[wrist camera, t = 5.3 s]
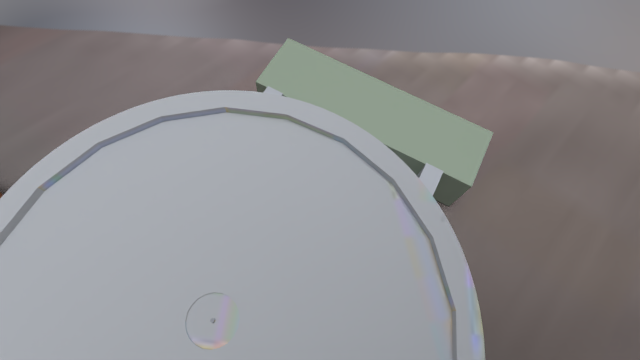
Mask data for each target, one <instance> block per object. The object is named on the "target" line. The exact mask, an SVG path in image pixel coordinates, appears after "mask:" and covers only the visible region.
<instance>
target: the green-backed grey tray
mask: <svg viewBox="0 0 640 360" xmlns="http://www.w3.org/2000/svg"><path fill="white" fill-rule="evenodd" d="M256 86H257V92H262V93H269V94H275V95H280V96H285V97H289V98H293V99H297V100H300V101H303V102H307V103H310V104H313V105H315V106H318V107H321V108H323V109H326V110H328V111H330V112H333V113H335V114H337V115H339V116H341V117H343V118H345V119H347V120H348V121H350V122H352V123H354V124H356V125H357V126H359V127H360V128H362V129H364V130H365V131H367V132H368V133H370V134H371V135H372V136H374V137H375V138H377V139H378V140H379V141H381V142H382V143H383V144H384V145H386V146H387V147H388V148H389V149H390V150H392V151H393V152H394V153H395V154H396V155H397V156H398V157H399V158H400V159H401V160H402V161H403V162H404V163H405V164H406V165H407V166H408V167H409V168H410V169H411V170H412V171H413V172H414V173H415V174H416V175H417V177H418V178H419V179H420V180H421V181H422V183H423V184H424V185H425V186H426V188H427V189H428V190H429V192H430V193H431V194H432V196H433V197H434V199H435V200H437V201H439V202H441V203H443V204H445V205H447V206H450V205H451V204H452V203H453V202H454V201H456V200H457V199H458V198H459V197H460V196H461V195H463V194H464V193H465V192H466V191H467V190H468V189H469V188H471V187H472V185H473V182H474V180H475V177H476V175H477V172H478V170H479V167H480V165H481V162H482V160H483V157H484V155H485V152H486V150H487V147H488V145H489V142H490V140H491V137H492V135H493V132H491V131H489V130H487V129H484V128H482V127H480V126H478V125H476V124H474V123H471V122H469V121H467V120H465V119H463V118H461V117H458V116H456V115H454V114H452V113H450V112H448V111H445V110H443V109H441V108H439V107H437V106H435V105H432V104H430V103H428V102H426V101H424V100H421V99H419V98H417V97H415V96H413V95H411V94H408V93H406V92H404V91H402V90H400V89H398V88H395V87H393V86H391V85H389V84H387V83H385V82H382V81H380V80H378V79H376V78H374V77H372V76H369V75H367V74H365V73H363V72H361V71H359V70H356V69H354V68H352V67H350V66H348V65H346V64H343V63H341V62H339V61H337V60H335V59H333V58H330V57H328V56H326V55H324V54H322V53H320V52H317V51H315V50H313V49H311V48H309V47H306V46H304V45H302V44H300V43H298V42H296V41H293V40H291V39H289V38H288V39H287V40H286V42H285V43H284V44H283V46H282V47H281V48H280V50H279V51H278V52H277V54H276V55H275V56H274V58H273V59H272V60H271V62H270V63H269V64H268V66H267V67H266V69H265V70H264V71H263V73H262V74H261V75H260V77H259V78H258V79H257V81H256Z"/></svg>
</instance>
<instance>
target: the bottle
mask: <svg viewBox="0 0 640 360" xmlns="http://www.w3.org/2000/svg"><path fill="white" fill-rule="evenodd" d="M0 360H485V346H484V335H483V327H482V320H481V313H480V308H479V303H478V298H477V294H476V290H475V286H474V282H473V279H472V276H471V273H470V270H469V267H468V264H467V261H466V258H465V256H464V253H463V251H462V248H461V246H460V244H459V241H458V239H457V237H456V235H455V233H454V231H453V229H452V227H451V225H450V223H449V221H448V220H447V218H446V216H445V214H444V213H443V211H442V209H441V208H440V206H439V205H438V203H437V202H436V200H435V199H434V197H433V196H432V194H431V193H430V192H429V190H428V189H427V188H426V186H425V185H424V184H423V183H422V181H421V180H420V179H419V178H418V177H417V175H416V174H415V173H414V172H413V171H412V170H411V169H410V168H409V167H408V166H407V165H406V164H405V163H404V162H403V161H402V160H401V159H400V158H399V157H398V156H397V155H396V154H395V153H394V152H393V151H392V150H390V149H389V148H388V147H387V146H386V145H384V144H383V143H382V142H381V141H379V140H378V139H377V138H375V137H374V136H372V135H371V134H370V133H368V132H367V131H365V130H364V129H362V128H360V127H359V126H357V125H356V124H354V123H352V122H350V121H348V120H347V119H345V118H343V117H341V116H339V115H337V114H335V113H333V112H330V111H328V110H326V109H323V108H321V107H318V106H315V105H313V104H310V103H307V102H303V101H300V100H297V99H293V98H289V97H285V96H280V95H275V94H269V93H262V92H253V91H236V90H222V91H204V92H196V93H188V94H182V95H177V96H172V97H167V98H163V99H159V100H156V101H152V102H149V103H146V104H142V105H139V106H137V107H134V108H131V109H128V110H126V111H123V112H121V113H118V114H116V115H114V116H112V117H109V118H107V119H105V120H103V121H101V122H99V123H97V124H95V125H93V126H91V127H90V128H88V129H86V130H84V131H82V132H81V133H79V134H77V135H76V136H74V137H73V138H71V139H69V140H68V141H66V142H65V143H63V144H62V145H60V146H59V147H58V148H56V149H55V150H53V151H52V152H51V153H49V154H48V155H47V156H45V157H44V158H43V159H42V160H40V161H39V162H38V163H37V164H36V165H34V166H33V167H32V168H31V169H30V170H29V171H28V172H26V173H25V174H24V175H23V176H22V177H21V178H20V179H19V180H18V181H17V182H16V183H15V184H14V185H13V186H12V187H11V188H10V189H9V190H8V191H7V192H6V193H5V194H4V195H3V196H2V197H1V198H0Z"/></svg>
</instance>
